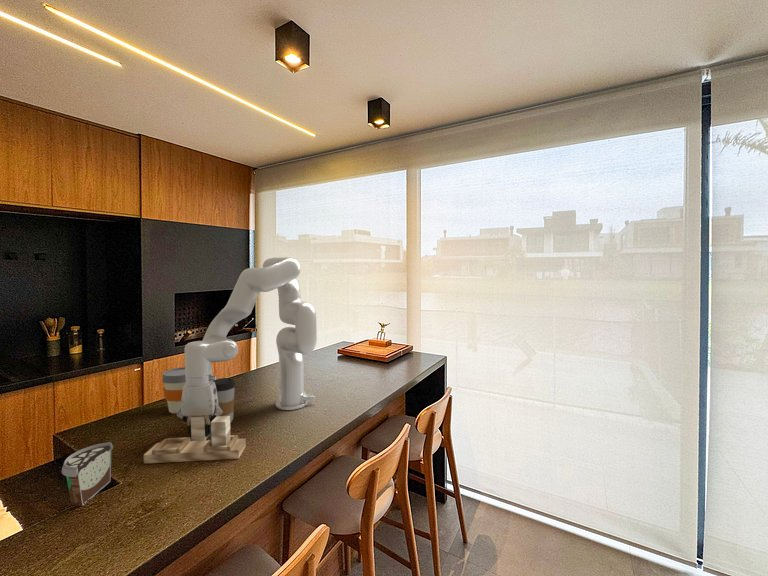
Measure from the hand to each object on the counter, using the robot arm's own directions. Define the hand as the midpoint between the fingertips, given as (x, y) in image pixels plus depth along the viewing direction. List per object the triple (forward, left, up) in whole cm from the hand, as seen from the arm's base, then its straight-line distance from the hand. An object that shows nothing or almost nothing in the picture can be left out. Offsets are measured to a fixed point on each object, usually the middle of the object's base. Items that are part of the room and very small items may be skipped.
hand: (200, 434), depth 113 cm
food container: (+17, +26, -2) cm, 31 cm away
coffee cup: (-3, -12, -1) cm, 12 cm away
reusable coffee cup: (+17, -26, -2) cm, 31 cm away
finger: (0, 0, -1) cm, 1 cm away
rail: (-3, +10, -1) cm, 11 cm away
